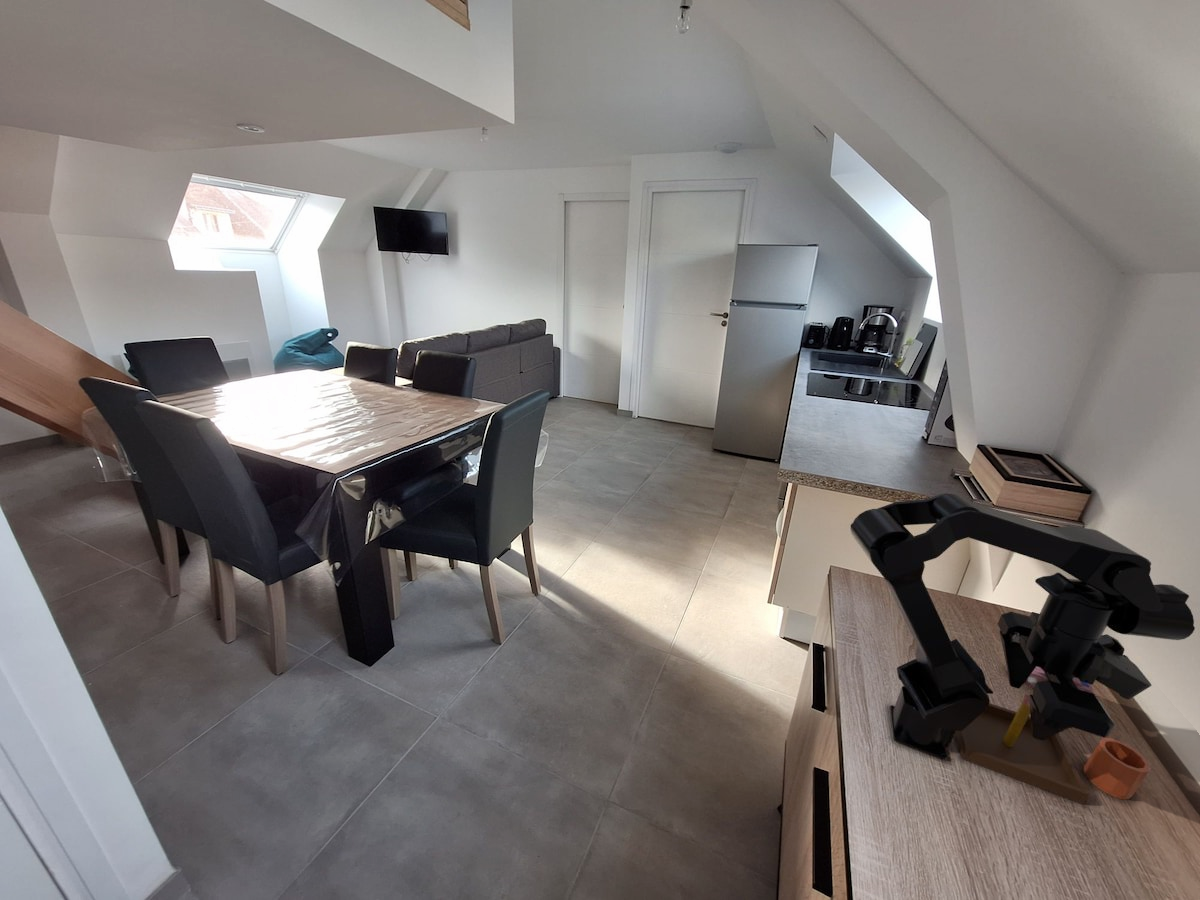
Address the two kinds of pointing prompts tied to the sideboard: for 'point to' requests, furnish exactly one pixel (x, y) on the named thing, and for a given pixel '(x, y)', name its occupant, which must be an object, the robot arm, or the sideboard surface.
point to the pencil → (1018, 722)
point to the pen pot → (1116, 768)
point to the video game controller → (1040, 676)
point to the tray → (1021, 754)
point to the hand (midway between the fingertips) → (1025, 710)
